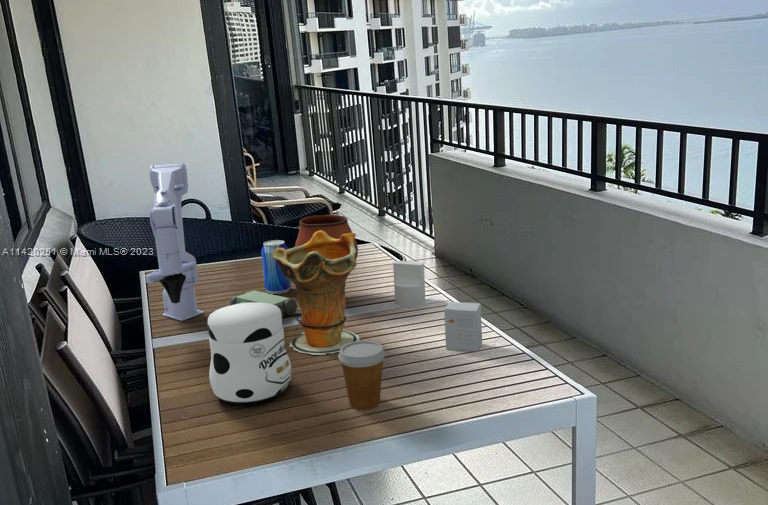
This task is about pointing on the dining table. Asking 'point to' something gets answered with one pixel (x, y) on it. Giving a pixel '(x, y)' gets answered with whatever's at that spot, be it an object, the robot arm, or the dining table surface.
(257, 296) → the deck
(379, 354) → the disposable coffee cup
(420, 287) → the cylinder with rectangular tab
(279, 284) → the beer can
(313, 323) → the decorative vase
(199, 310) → the robot arm
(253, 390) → the milk container
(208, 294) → the dining table surface
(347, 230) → the terracotta pot
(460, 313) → the small box
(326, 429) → the dining table surface
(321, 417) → the dining table surface
